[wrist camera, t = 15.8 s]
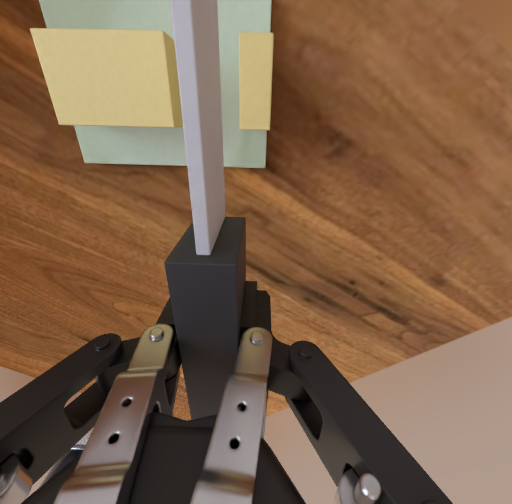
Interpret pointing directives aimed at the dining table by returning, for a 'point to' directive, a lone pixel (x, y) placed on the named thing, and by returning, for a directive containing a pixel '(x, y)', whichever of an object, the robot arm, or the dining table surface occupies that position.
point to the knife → (205, 220)
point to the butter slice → (255, 80)
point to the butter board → (160, 18)
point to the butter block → (110, 76)
